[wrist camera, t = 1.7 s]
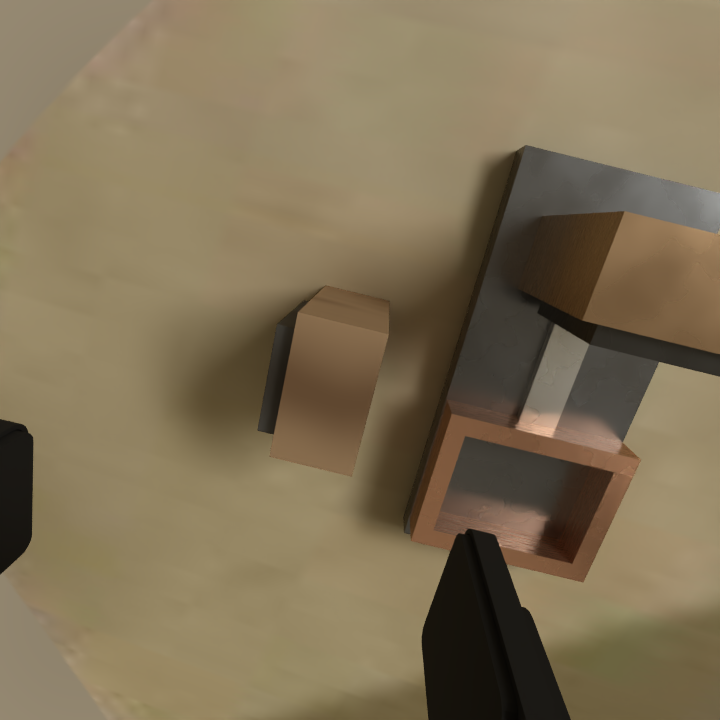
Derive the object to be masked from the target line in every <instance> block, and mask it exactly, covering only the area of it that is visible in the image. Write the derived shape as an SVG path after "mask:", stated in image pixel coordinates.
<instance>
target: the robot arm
mask: <svg viewBox="0 0 720 720" xmlns="http://www.w3.org/2000/svg"><path fill="white" fill-rule="evenodd" d="M32 492H33V437H32V435H31V434H29V433H28V430H27V428H26V426H24V425H22V424H18V423H14V422H10V421H5V420H1V419H0V574H1V573H2V572H4V571H5V570H6V569H7V568H8V567H9V566H10V565H11V564H12V563H13V562H14V561H15V560H16V559H18V558H19V557H20V556H21V555H22V554H23V553H24V552H25V550H26V549H27V547H28V545H29V543H30V541H31V537H32ZM422 652H423V663H424V674H425V686H426V697H427V708H428V719H429V720H571V719H570V716H569V714H568V711H567V708H566V706H565V703H564V700H563V698H562V695H561V692H560V690H559V687H558V684H557V682H556V679H555V676H554V674H553V671H552V668H551V666H550V663H549V660H548V658H547V655H546V652H545V650H544V647H543V644H542V642H541V639H540V636H539V634H538V631H537V628H536V626H535V623H534V620H533V618H532V616H531V614H530V612H529V611H528V610H527V609H526V608H524V607H521V604H520V602H519V599H518V596H517V593H516V590H515V588H514V585H513V582H512V579H511V576H510V573H509V571H508V568H507V565H506V562H505V559H504V557H503V554H502V551H501V548H500V545H499V543H498V540H497V537H496V536H495V535H494V534H491V533H487V532H483V531H478V530H474V529H467V531H466V532H465V534H461V533H458V534H457V535H456V538H455V540H454V543H453V546H452V548H451V551H450V554H449V557H448V560H447V562H446V565H445V568H444V571H443V573H442V576H441V579H440V582H439V585H438V587H437V590H436V593H435V596H434V599H433V601H432V604H431V607H430V610H429V612H428V615H427V618H426V621H425V624H424V627H423V632H422Z"/></svg>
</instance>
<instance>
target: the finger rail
mask: <svg viewBox="0 0 720 720" xmlns="http://www.w3.org/2000/svg"><path fill="white" fill-rule="evenodd" d="M719 229H720V193H717V192H713V191H709V190H705V189H701V188H697V187H693V186H689V185H685V184H681V183H677V182H673V181H668V180H664V179H660V178H656V177H652V176H648V175H644V174H640V173H636V172H632V171H628V170H624V169H620V168H616V167H612V166H608V165H604V164H600V163H596V162H592V161H588V160H584V159H580V158H576V157H572V156H568V155H564V154H560V153H556V152H551V151H547V150H543V149H539V148H535V147H531V146H527V145H525V146H524V147H522V148H520V149H519V150H517V153H516V156H515V159H514V162H513V166H512V169H511V172H510V175H509V178H508V182H507V185H506V188H505V191H504V195H503V198H502V201H501V204H500V208H499V211H498V214H497V217H496V220H495V224H494V227H493V230H492V233H491V237H490V240H489V243H488V246H487V249H486V253H485V256H484V259H483V262H482V266H481V269H480V272H479V275H478V279H477V282H476V285H475V288H474V291H473V295H472V298H471V301H470V304H469V308H468V311H467V314H466V317H465V321H464V324H463V327H462V330H461V333H460V337H459V340H458V343H457V346H456V350H455V353H454V356H453V359H452V362H451V366H450V369H449V372H448V375H447V379H446V382H445V385H444V388H443V392H442V395H441V398H440V401H439V404H438V408H437V411H436V414H435V417H434V421H433V424H432V427H431V430H430V433H429V437H428V440H427V443H426V446H425V450H424V453H423V456H422V459H421V463H420V466H419V469H418V472H417V475H416V479H415V482H414V485H413V488H412V492H411V495H410V498H409V501H408V505H407V508H406V511H405V514H404V517H403V518H404V533H407V534H411V541H414V542H418V543H422V544H426V545H430V546H434V547H439V548H443V549H447V550H451V548H452V546H453V543H454V540H455V538H456V535H457V534H458V533H461V534H465V532H466V531H467V529H474V530H478V531H483V532H487V533H491V534H494V535H495V536H496V537H497V540H498V543H499V545H500V548H501V551H502V554H503V557H504V559H505V562H506V564H509V565H513V566H517V567H521V568H526V569H530V570H534V571H538V572H542V573H546V574H551V575H555V576H559V577H563V578H567V579H571V580H575V581H580V582H584V580H585V578H586V575H587V573H588V571H589V569H590V567H591V565H592V563H593V561H594V559H595V556H596V554H597V552H598V550H599V548H600V546H601V544H602V542H603V539H604V537H605V535H606V533H607V531H608V529H609V527H610V525H611V523H612V520H613V518H614V516H615V514H616V512H617V510H618V508H619V506H620V504H621V501H622V499H623V497H624V495H625V493H626V491H627V489H628V487H629V484H630V482H631V480H632V478H633V476H634V474H635V472H636V470H637V468H638V465H639V463H640V461H641V459H640V458H638V457H637V456H636V455H635V454H634V453H633V452H632V451H631V450H630V449H629V448H628V447H627V446H626V445H625V444H623V440H624V438H625V436H626V434H627V432H628V429H629V427H630V425H631V423H632V420H633V418H634V416H635V414H636V412H637V409H638V407H639V405H640V403H641V401H642V398H643V396H644V394H645V392H646V390H647V387H648V385H649V383H650V381H651V379H652V376H653V374H654V372H655V370H656V368H657V365H658V363H659V362H663V363H667V364H671V365H675V366H679V367H683V368H687V369H691V370H695V371H699V372H703V373H707V374H712V375H716V376H720V235H719V234H717V233H718V231H719Z"/></svg>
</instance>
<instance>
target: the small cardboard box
mask: <svg viewBox="0 0 720 720" xmlns="http://www.w3.org/2000/svg"><path fill="white" fill-rule="evenodd" d="M388 336H389V301H387V300H383V299H379V298H375V297H371V296H367V295H363V294H358V293H354V292H350V291H346V290H342V289H338V288H334V287H330V286H325V287H324V288H323V289H322V290H321V291H320V292H319V293H317V294H316V295H315V296H314V297H313V298H312V299H311V300H310V301H305V300H304V301H303V302H302V303H301V304H299V305H298V306H297V307H296V308H295V309H294V310H293V311H292V312H290V313H289V314H288V315H287V316H286V317H285V318H284V319H283V320H281V321H280V322H279V323H278V324H277V327H276V333H275V338H274V344H273V349H272V354H271V360H270V365H269V371H268V376H267V382H266V387H265V393H264V398H263V403H262V409H261V414H260V420H259V425H258V431H262V432H266V433H270V434H274V436H273V441H272V446H271V452H270V457H273V458H277V459H281V460H285V461H290V462H294V463H298V464H302V465H306V466H310V467H314V468H318V469H323V470H327V471H331V472H335V473H339V474H343V475H347V476H352V474H353V470H354V466H355V462H356V459H357V455H358V451H359V447H360V443H361V439H362V436H363V432H364V428H365V424H366V420H367V416H368V413H369V409H370V405H371V401H372V397H373V394H374V390H375V386H376V382H377V378H378V374H379V371H380V367H381V363H382V359H383V355H384V351H385V348H386V344H387V340H388Z"/></svg>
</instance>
